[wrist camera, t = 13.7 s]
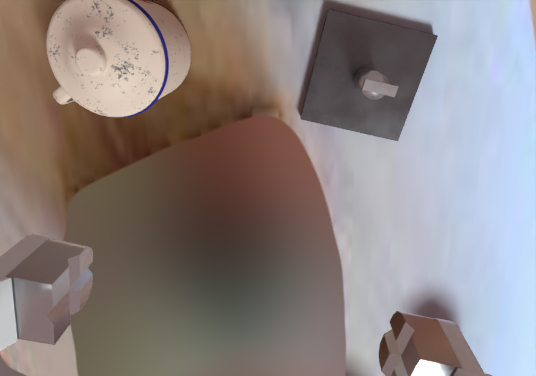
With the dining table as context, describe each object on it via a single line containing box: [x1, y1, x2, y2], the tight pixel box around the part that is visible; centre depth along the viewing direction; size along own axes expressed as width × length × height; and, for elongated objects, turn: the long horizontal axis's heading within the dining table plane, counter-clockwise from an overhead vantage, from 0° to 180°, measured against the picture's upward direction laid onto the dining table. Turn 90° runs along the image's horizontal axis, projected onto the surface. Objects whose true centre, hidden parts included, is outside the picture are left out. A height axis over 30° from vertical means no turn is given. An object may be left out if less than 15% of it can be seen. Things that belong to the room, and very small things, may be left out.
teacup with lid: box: [46, 0, 191, 118], centre depth 30 cm, size 12×9×12 cm
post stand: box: [301, 10, 437, 141], centre depth 33 cm, size 10×10×6 cm
